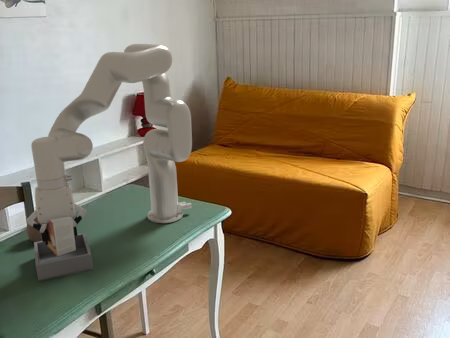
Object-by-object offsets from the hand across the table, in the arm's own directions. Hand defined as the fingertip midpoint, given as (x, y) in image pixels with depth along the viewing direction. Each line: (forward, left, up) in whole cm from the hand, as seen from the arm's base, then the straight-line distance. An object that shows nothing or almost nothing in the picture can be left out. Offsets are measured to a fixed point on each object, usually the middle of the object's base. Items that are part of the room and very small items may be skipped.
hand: (60, 240), depth 132 cm
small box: (0, 0, -3) cm, 3 cm away
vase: (+6, -19, -8) cm, 21 cm away
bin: (0, 0, -8) cm, 8 cm away
